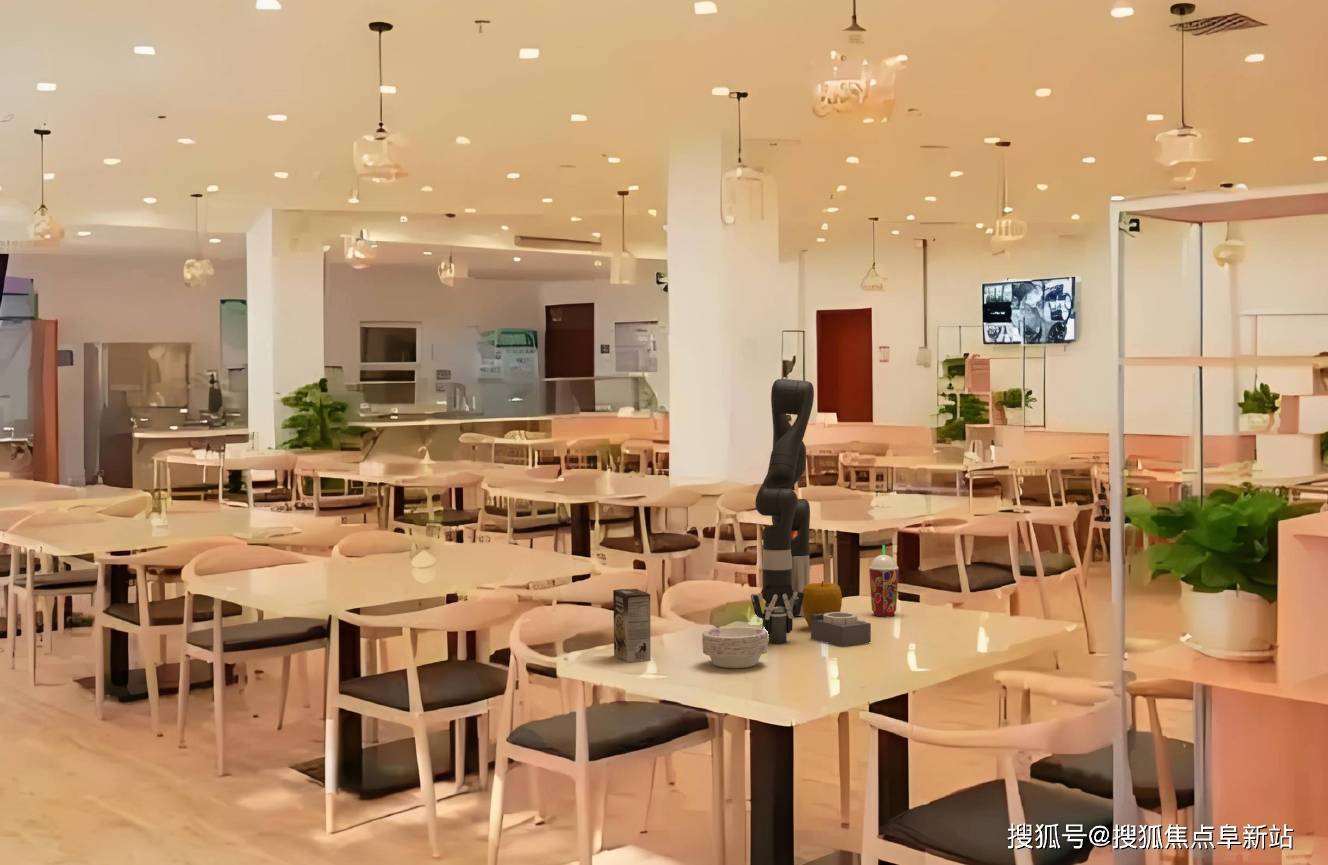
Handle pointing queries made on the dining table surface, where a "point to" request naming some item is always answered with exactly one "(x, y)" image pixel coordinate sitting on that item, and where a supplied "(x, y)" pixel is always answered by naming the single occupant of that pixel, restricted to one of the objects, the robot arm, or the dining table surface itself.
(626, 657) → the coffee box
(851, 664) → the dining table surface
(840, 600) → the apple
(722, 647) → the paper bowls
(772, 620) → the lens
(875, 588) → the smoothie
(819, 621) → the camera body
